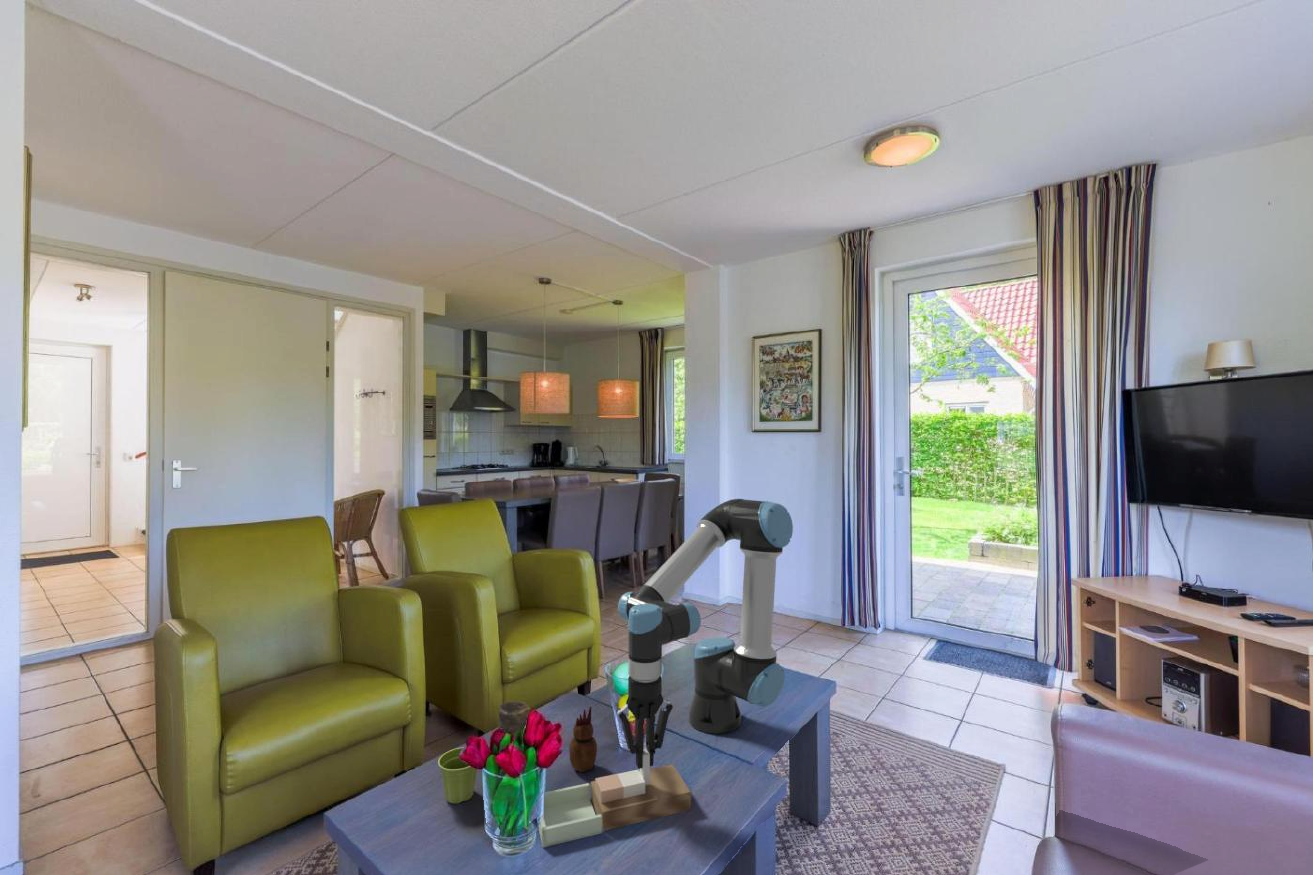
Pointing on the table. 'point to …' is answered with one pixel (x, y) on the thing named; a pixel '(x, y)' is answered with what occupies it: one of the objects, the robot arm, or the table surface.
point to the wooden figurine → (583, 744)
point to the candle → (513, 716)
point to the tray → (568, 816)
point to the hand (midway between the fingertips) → (644, 780)
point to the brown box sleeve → (646, 800)
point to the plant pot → (457, 777)
